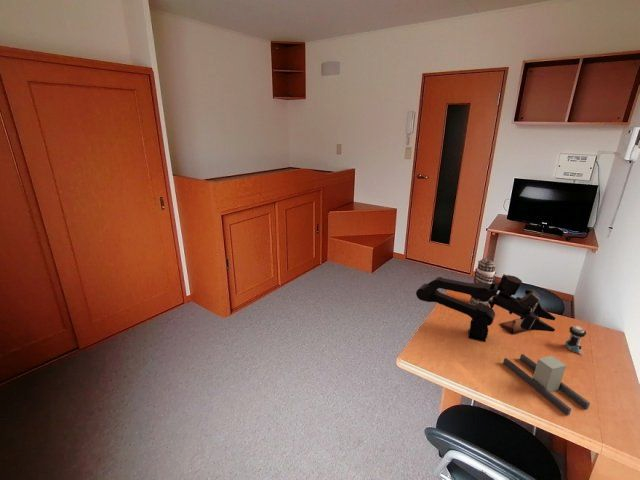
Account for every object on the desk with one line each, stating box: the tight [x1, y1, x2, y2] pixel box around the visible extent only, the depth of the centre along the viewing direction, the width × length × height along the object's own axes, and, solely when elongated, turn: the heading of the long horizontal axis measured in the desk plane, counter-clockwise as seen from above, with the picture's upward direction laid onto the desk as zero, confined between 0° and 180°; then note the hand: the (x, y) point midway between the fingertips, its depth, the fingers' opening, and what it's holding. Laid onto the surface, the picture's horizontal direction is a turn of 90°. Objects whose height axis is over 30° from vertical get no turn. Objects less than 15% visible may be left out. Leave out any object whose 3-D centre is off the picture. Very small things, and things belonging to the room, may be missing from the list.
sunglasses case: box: [498, 318, 526, 335], centre depth 144 cm, size 18×7×7 cm
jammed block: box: [532, 355, 567, 393], centre depth 107 cm, size 5×6×10 cm
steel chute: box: [502, 353, 591, 417], centre depth 110 cm, size 24×10×4 cm, turn 18°
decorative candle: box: [469, 258, 498, 306], centre depth 157 cm, size 9×9×25 cm
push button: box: [564, 325, 587, 355], centre depth 128 cm, size 7×5×10 cm
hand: (554, 324), depth 119 cm, fingers open, 9 cm apart
